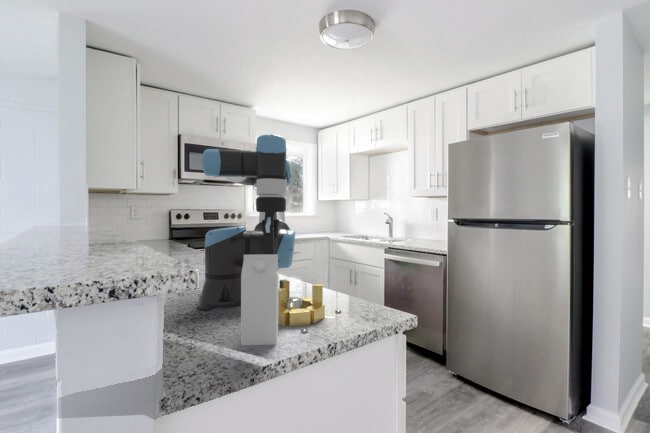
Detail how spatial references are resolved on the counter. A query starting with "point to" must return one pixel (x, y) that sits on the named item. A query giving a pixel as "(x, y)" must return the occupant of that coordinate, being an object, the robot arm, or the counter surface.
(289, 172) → the robot arm
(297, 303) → the flange plate
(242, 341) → the milk carton
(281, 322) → the gold foil sensor mount
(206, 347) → the counter surface
